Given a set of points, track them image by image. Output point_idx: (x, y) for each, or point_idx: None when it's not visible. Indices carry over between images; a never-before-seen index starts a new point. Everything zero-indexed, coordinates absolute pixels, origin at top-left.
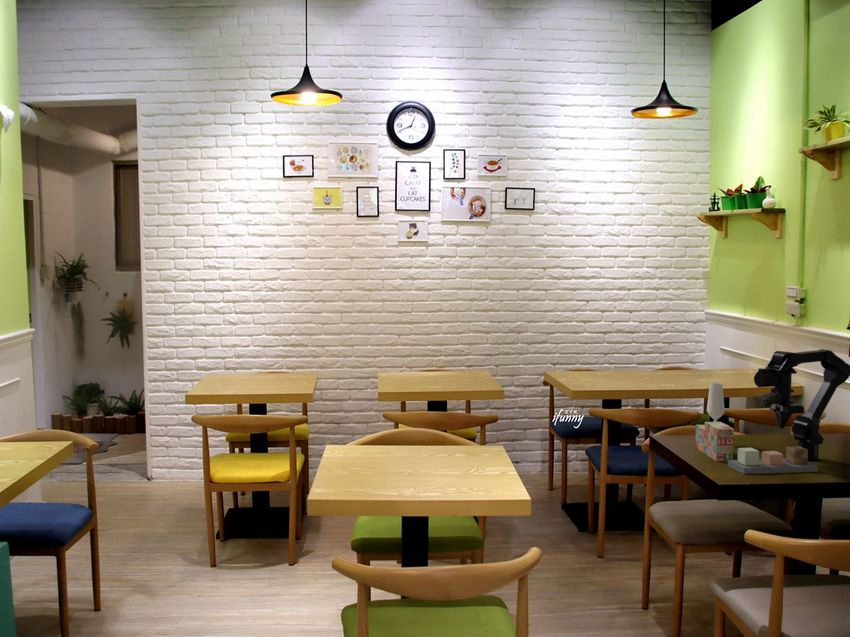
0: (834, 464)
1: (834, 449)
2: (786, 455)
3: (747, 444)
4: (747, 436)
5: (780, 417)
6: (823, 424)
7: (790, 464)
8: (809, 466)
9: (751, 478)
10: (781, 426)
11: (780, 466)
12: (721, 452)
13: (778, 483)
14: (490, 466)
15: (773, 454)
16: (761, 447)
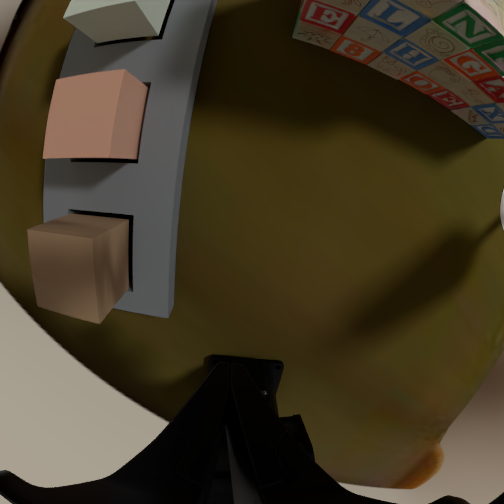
0: (153, 399)
1: None
2: (111, 224)
3: (471, 301)
4: (497, 347)
5: (157, 454)
6: (433, 475)
7: (71, 196)
8: None
9: (60, 7)
10: (207, 380)
11: None
12: None
13: (3, 68)
14: None
15: (52, 100)
16: (432, 324)
